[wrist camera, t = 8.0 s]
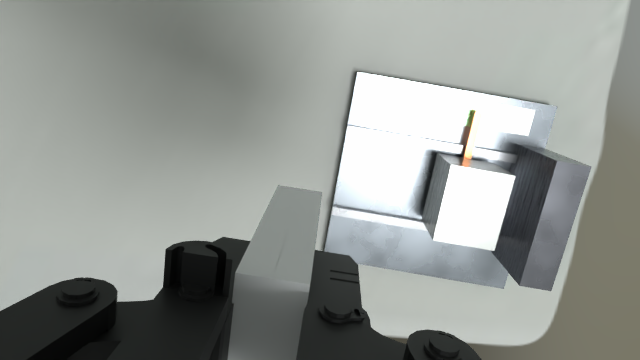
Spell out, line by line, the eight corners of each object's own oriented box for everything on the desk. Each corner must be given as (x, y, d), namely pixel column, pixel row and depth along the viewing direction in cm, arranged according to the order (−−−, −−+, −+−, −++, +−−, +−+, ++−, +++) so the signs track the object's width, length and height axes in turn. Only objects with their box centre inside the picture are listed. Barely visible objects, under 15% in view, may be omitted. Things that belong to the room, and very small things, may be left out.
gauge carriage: (448, 106, 31) (464, 111, 27) (506, 115, 31) (530, 122, 27) (421, 220, 33) (432, 240, 29) (475, 229, 33) (494, 250, 29)
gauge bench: (356, 71, 32) (362, 72, 25) (549, 105, 32) (608, 115, 25) (323, 251, 36) (320, 296, 29) (498, 281, 36) (537, 333, 29)
